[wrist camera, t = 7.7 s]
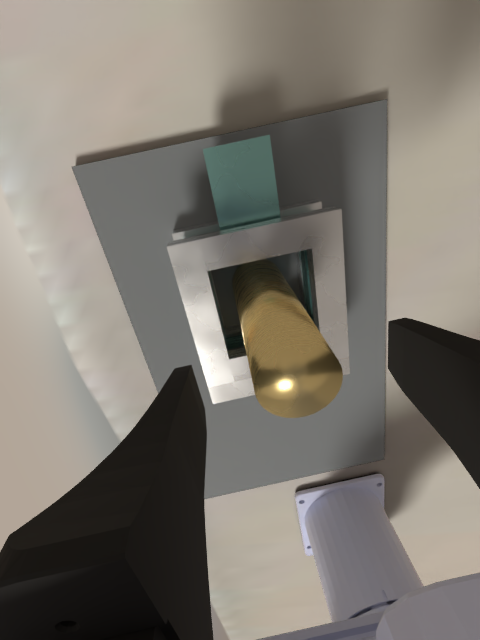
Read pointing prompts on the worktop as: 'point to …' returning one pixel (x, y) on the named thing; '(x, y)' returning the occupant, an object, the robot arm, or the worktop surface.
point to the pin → (283, 344)
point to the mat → (168, 309)
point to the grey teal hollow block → (251, 245)
